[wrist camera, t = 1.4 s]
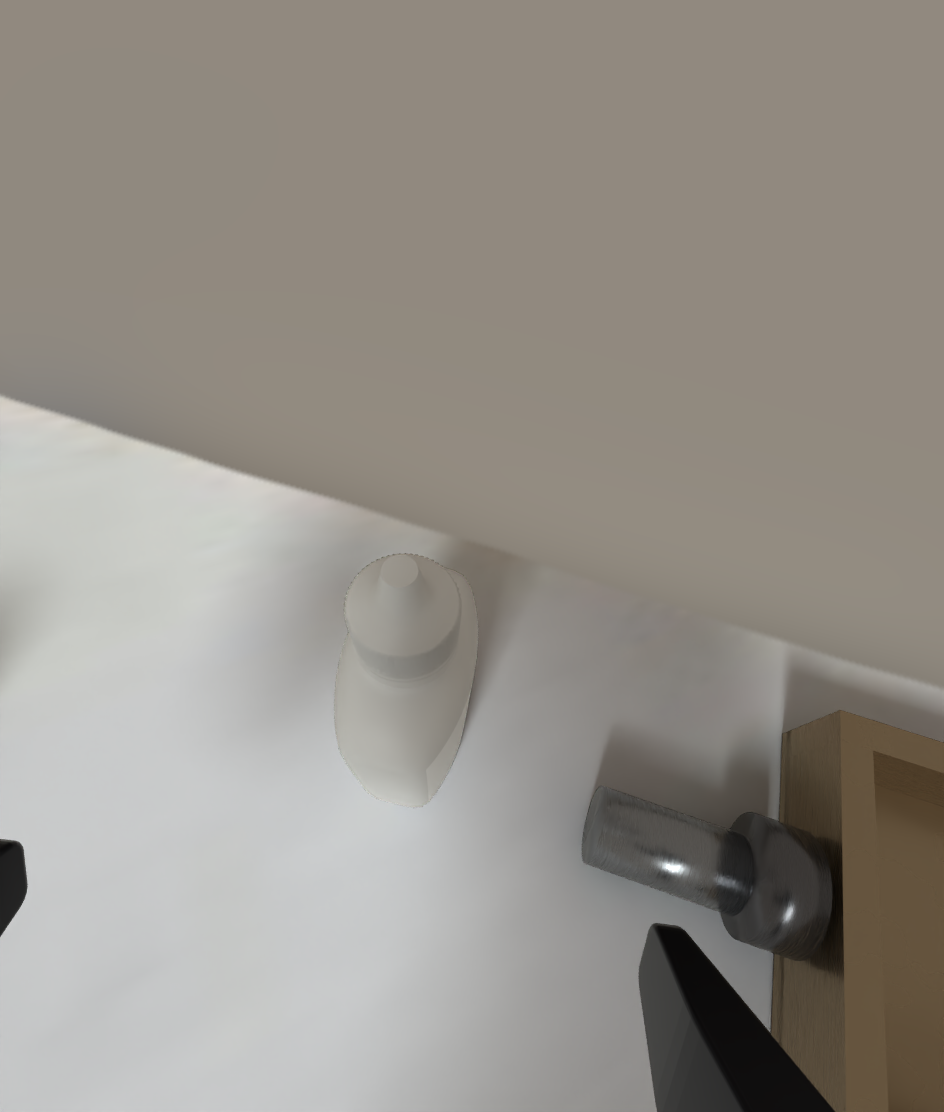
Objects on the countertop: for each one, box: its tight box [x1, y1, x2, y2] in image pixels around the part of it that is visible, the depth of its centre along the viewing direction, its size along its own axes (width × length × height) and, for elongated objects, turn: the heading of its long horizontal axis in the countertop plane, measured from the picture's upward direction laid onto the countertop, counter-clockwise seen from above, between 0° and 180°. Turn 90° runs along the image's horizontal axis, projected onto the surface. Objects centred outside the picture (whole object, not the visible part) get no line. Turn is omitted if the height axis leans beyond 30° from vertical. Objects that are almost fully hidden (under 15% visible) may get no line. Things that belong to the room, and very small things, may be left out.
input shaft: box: [582, 786, 832, 961], centre depth 17 cm, size 6×4×4 cm, turn 72°
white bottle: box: [334, 553, 478, 808], centre depth 16 cm, size 4×6×12 cm
